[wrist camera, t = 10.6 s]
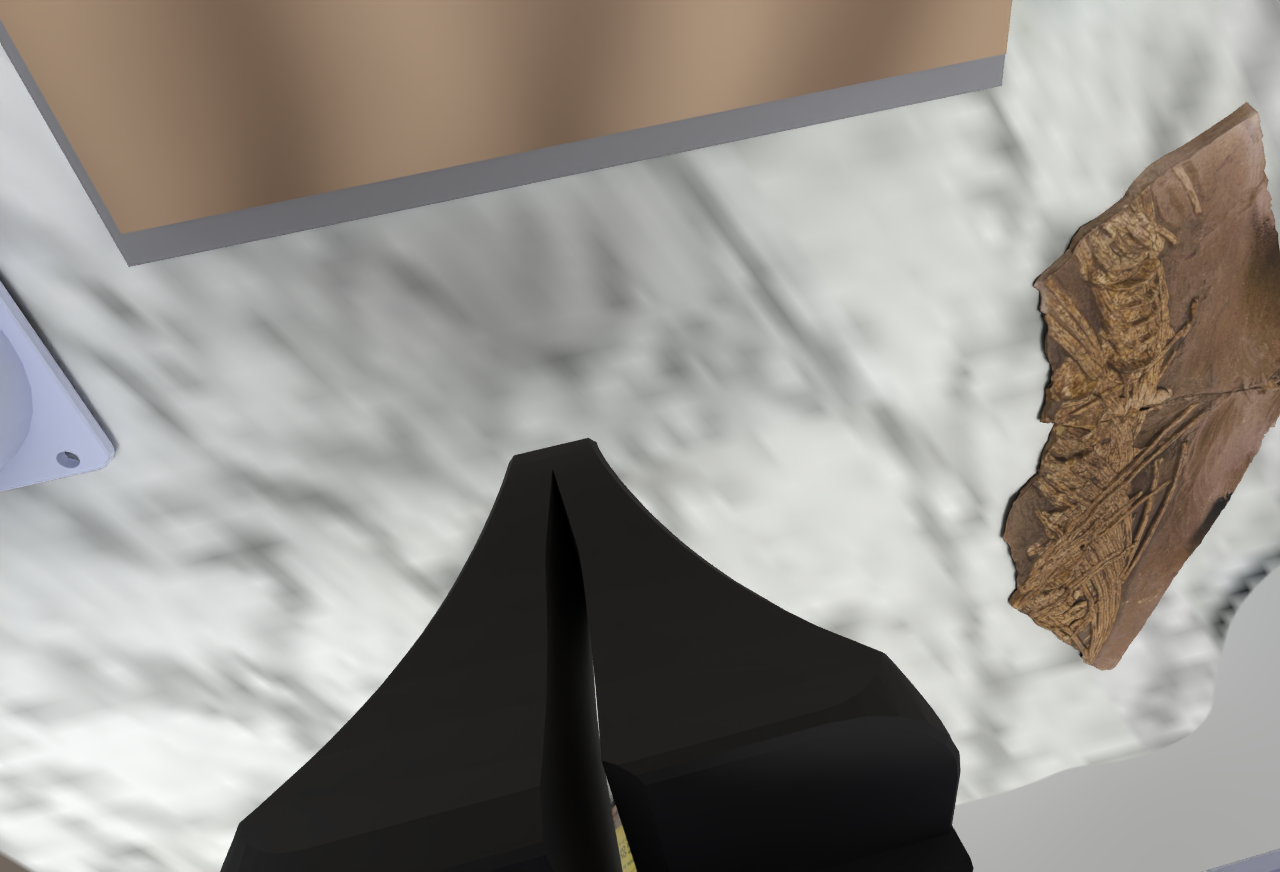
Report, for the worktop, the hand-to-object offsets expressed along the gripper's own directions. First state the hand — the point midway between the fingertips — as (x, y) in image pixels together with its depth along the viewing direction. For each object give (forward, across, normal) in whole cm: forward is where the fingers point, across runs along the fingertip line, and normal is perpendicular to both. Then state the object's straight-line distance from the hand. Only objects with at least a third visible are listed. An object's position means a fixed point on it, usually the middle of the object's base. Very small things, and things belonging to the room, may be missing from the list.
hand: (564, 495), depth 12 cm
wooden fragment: (+10, -21, +12) cm, 26 cm away
